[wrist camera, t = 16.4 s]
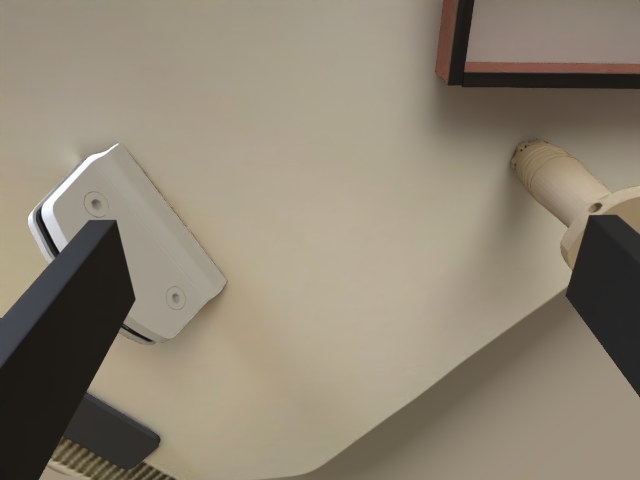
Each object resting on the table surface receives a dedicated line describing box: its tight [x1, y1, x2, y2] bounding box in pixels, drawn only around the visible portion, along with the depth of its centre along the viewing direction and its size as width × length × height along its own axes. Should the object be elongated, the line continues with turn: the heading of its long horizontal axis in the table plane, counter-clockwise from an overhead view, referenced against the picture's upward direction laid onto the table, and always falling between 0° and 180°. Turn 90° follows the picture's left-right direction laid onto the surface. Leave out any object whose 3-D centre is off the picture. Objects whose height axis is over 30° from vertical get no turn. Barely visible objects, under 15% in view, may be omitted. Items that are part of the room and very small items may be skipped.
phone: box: [63, 393, 160, 469], centre depth 57 cm, size 7×1×15 cm
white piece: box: [28, 143, 227, 345], centre depth 42 cm, size 17×5×10 cm, turn 29°
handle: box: [511, 139, 640, 271], centre depth 35 cm, size 5×6×15 cm
